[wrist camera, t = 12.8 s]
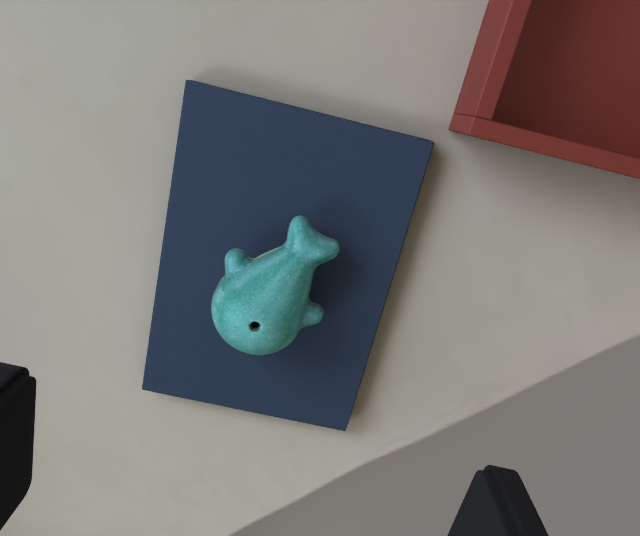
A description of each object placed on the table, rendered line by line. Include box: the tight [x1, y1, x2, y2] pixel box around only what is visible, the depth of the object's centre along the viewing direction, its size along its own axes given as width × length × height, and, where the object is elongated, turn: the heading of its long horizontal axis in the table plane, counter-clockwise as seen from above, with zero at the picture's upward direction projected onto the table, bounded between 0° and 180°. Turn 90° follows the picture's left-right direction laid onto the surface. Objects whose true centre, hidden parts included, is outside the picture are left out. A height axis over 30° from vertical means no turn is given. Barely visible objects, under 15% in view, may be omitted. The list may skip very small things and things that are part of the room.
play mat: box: [142, 80, 434, 431], centre depth 27 cm, size 17×12×1 cm
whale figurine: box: [211, 216, 340, 355], centre depth 24 cm, size 6×7×4 cm
